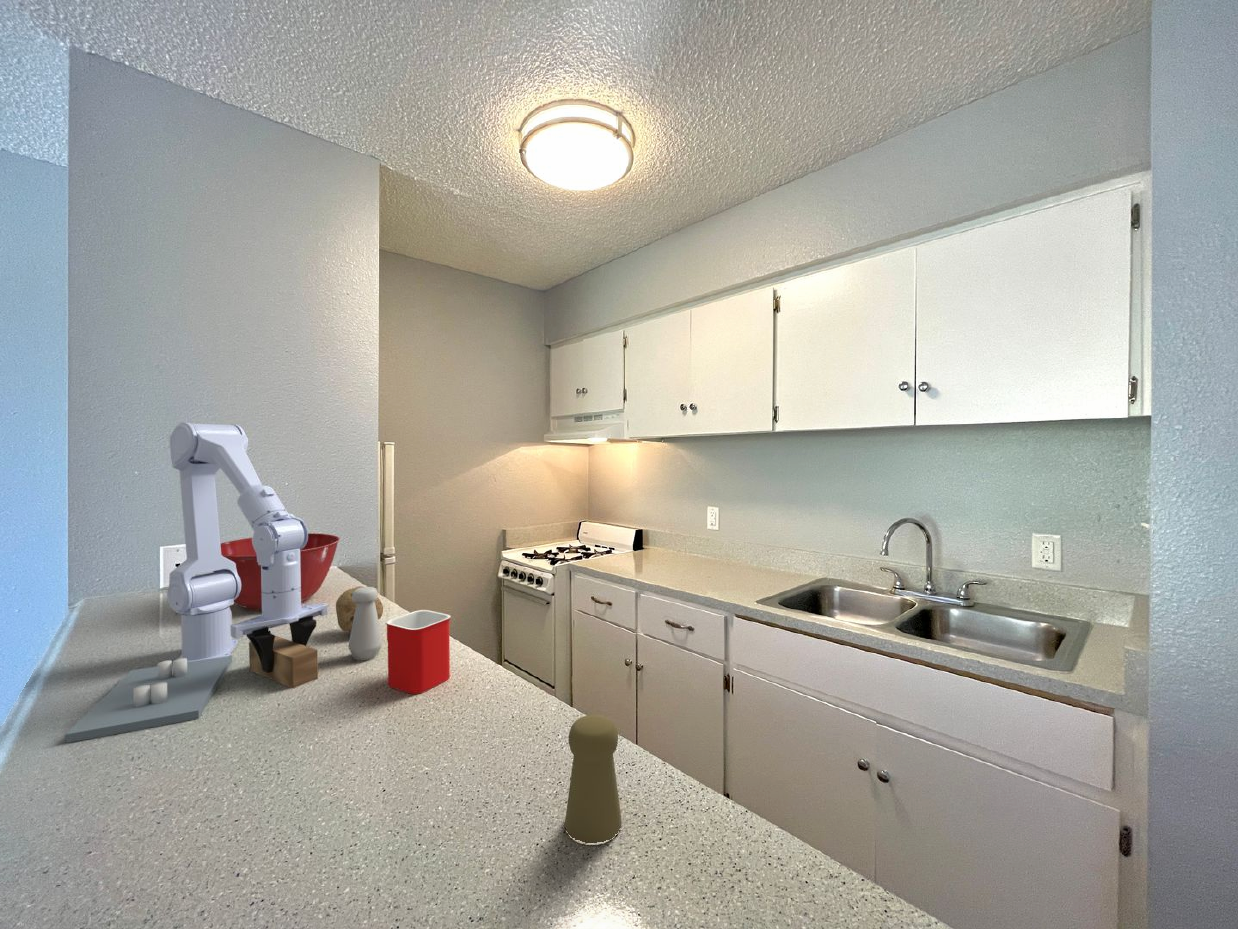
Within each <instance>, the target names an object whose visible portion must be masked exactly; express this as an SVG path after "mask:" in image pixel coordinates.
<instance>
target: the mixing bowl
mask: <svg viewBox="0 0 1238 929" xmlns="http://www.w3.org/2000/svg"><path fill="white" fill-rule="evenodd" d="M252 538H253V536H252V537H247V538H241V539H240V538H239V539H235V540H230V541H226V542H225V541H224V542H220V546H221V555H222V556H223V557H225V558H227V559H229V560H231V561H233V562H234V563H235V564H236V570H237V573H238V576H239V577H240V580H241V591H240V593H239V596H238V597H237V598H236V599H235V600H234V604H237V605H238V606H239V607H243V608H245V609H247V610H250V611H251V610H252V611H262V589H261V565H258V562H257V554H256V551H255V550H254V548H253V544H252ZM340 540H341V538H340V537H339V536H338V535H337V536H336V535H333V534H328V533H327V534H326V533H312V532H311V533H309V532H308V540H307V543H306V545H305V546H304V548H302V549H300V569H301V604H302V603H305V602H306V601H307V600H308V599H309V598H311V597H312V596H314V595H315V594H316V593H317V591H319V590H320V588H321V586H322V585H323V583H324V581H325V579H326V578H327V576H328V573H329V571H330V568H331V567H332V563H333V561H334V557H335V556H336V555H335V554H336V551H337V547H338V542H340ZM213 572H218V571H217V570H216V571H212V573H213Z"/></svg>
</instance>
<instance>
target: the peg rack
mask: <svg viewBox="0 0 1238 929" xmlns="http://www.w3.org/2000/svg"><path fill="white" fill-rule="evenodd" d="M232 663H233V655H230V656H227V657H220V658H213V659H206V660H199V661H193V662H187V658H181V659H178V658H176V659H174V660H173V661H172V660H170V659H169V660H163V661H160V662H158V663H157V666H154V667H152V666H151V667H145V668H139V669H132V670H130V671H129V672H128V673H127V674H126V675H125V676H124V678H122V680H120V681H119V682H118V683H117V684H116V685H115V686H114V687H113V688H112V689H111V690H110V691H109V692H108V693H107V694H105V696H103V698H102V699H101V700H99V702H98V703H96V704H95V706H94V707H93V708H92V709H90V710H89V711H88V712H87V713H86V715H85V716H84V717H82V718H81V719H80V720H79V721H78V722H77V723H76V724H75V725H73V727H72V728H71V729H70V730H69V731H68V732H67V733H66V734H65V736H66V738H65V739H66V744H70V743H74V742H75V743H76V742H80V741H84V740H85V741H86V740H92V739H97V738H101V737H107V736H111V735H116V734H117V735H118V734H123V733H129V732H133V731H138V730H143V729H144V730H145V729H151V728H155V727H162V726H165V725H171V724H176V723H182V722H186V721H187V722H188V721H192V720H197V719H200V717H201V715H202V714H203V713H204V711H205V709H206V707H207V705H208V704H209V702H210V700H211V699H212V697H213V695H214V694H215V692H216V690H217V689H218V687H219V685H220V683H221V682H222V681H223V679H224V677H225V675H226V673H227V672H228V670H229V668H230V667H231V665H232Z"/></svg>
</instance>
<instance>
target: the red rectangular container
mask: <svg viewBox="0 0 1238 929" xmlns="http://www.w3.org/2000/svg"><path fill="white" fill-rule="evenodd" d="M451 616H452V615H450V614H447V613H443V612H438V611H433V610H429V609H419V610H414V611H412V612H409V613H406V614H403V615H399V616H397V617H396V616H395V617H394V618H391V619H388V620H387V621H386V622H385V624H386V642H387V676H388V677H387V681H388V682H387V683H388V686H389V687H391V688H393V689H395V690H398V691H401V692H405V693H407V694H410V695H417V694H418V695H420V694H422V693H425V692H427V691H429V690H431V689H433V688H434V687H437V686H439V685H440V684H442V683H444V682H446V681H448V680H449V679H450V674H451V673H450V671H451V670H450V666H451V665H450V664H451V662H450V621H451Z"/></svg>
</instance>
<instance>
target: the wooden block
mask: <svg viewBox="0 0 1238 929" xmlns="http://www.w3.org/2000/svg"><path fill="white" fill-rule="evenodd" d="M248 653H249V654H248V658H249V662H248V664H249V665H248V666H249V671H252V672H254V673H256V674H258V675H261V676H264V677H266V678H268V679H271V680H273V681H276V682H278V683H281V684H282V685H285V686H288V687H289V688H292V689H295V688H298V687H300V686H303V685H305V684H307V683H310V682H314V681H315V680H318V679H319V673H318V672H319V671H318V669H319V666H318V663H319V662H318V657H319V656H318V649H316V648H313V647H310V646H304V645H301V644H298V643H295V642H292V640H289V639H286V638H283V637H280V636H277V635H275V638H274V644H273V653H272V656H273V671H272V672H270V673H267V672H265V671H263V669H262V665H261V662H260V659H259V656H258V654H257V652H256V650H255V648H254V646H253V644H252V643H251V641H249V642H248Z"/></svg>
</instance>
